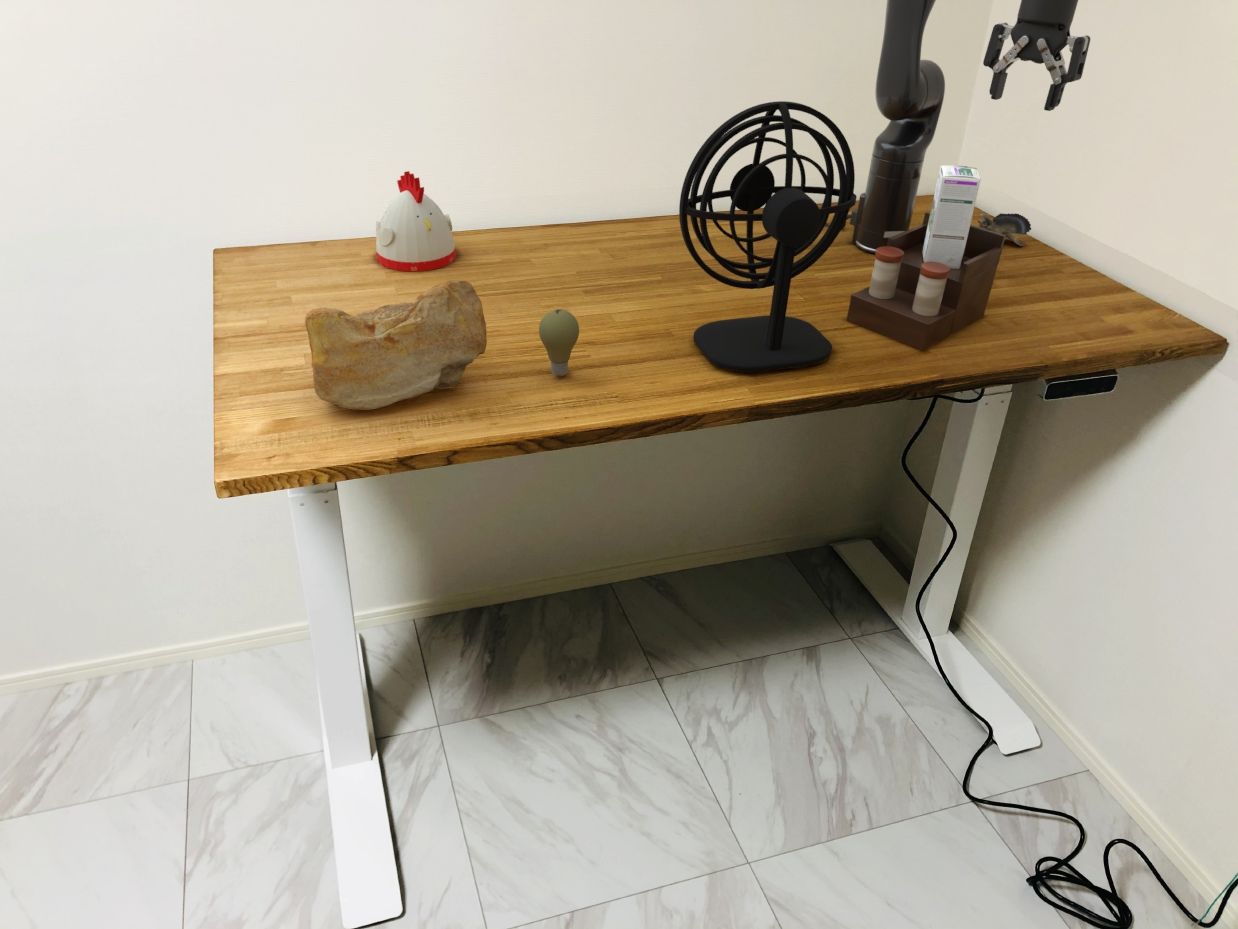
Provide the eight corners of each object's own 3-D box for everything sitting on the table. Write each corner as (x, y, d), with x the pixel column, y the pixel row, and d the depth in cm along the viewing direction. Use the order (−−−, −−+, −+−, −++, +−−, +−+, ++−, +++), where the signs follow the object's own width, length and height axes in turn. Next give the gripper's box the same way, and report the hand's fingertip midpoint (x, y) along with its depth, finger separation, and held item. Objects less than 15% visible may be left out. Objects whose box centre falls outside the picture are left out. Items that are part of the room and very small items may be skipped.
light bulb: (539, 366, 134) (538, 302, 129) (577, 365, 135) (578, 302, 129) (540, 385, 130) (538, 320, 124) (579, 384, 130) (580, 319, 125)
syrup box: (960, 269, 146) (983, 177, 138) (922, 265, 147) (943, 174, 139) (957, 256, 151) (979, 166, 143) (919, 252, 152) (940, 163, 144)
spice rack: (922, 351, 142) (943, 264, 135) (846, 320, 151) (861, 237, 143) (983, 316, 154) (1006, 235, 146) (909, 289, 162) (927, 211, 154)
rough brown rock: (471, 349, 140) (460, 252, 132) (498, 394, 126) (487, 288, 119) (312, 375, 133) (290, 275, 126) (322, 425, 120) (298, 316, 112)
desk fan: (813, 312, 153) (850, 88, 133) (867, 361, 139) (917, 119, 119) (658, 329, 146) (672, 95, 126) (698, 383, 132) (722, 129, 112)
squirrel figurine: (983, 245, 177) (1033, 240, 176) (980, 208, 177) (1030, 202, 176) (974, 253, 185) (1022, 248, 183) (972, 218, 185) (1020, 212, 183)
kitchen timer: (400, 277, 159) (390, 190, 150) (363, 252, 168) (353, 168, 159) (470, 260, 166) (465, 176, 158) (431, 236, 175) (425, 156, 167)
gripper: (1114, -11, 130) (1078, 110, 139) (1018, -23, 138) (990, 91, 147) (1091, -7, 125) (1055, 117, 135) (994, -20, 134) (966, 98, 143)
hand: (1021, 104), depth 141 cm, fingers open, 8 cm apart
